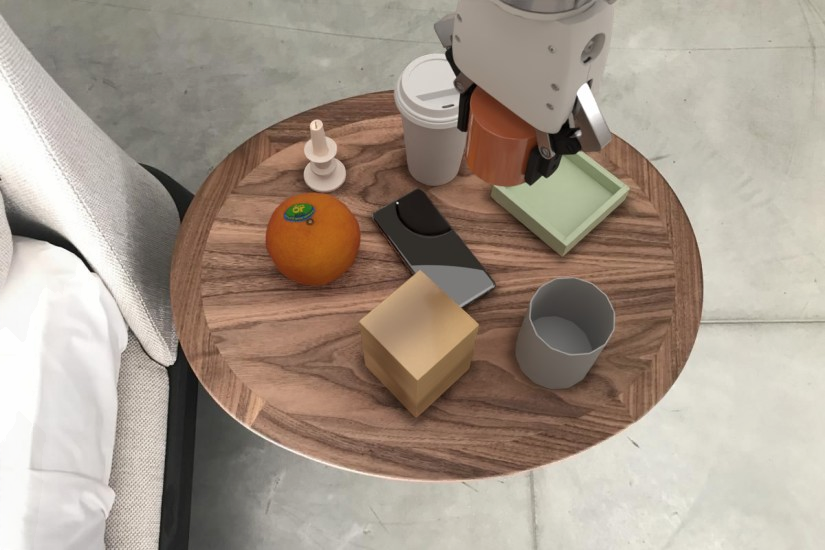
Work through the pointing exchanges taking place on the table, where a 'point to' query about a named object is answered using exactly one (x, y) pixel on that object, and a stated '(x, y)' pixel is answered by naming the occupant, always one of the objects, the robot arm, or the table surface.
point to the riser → (418, 342)
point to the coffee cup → (430, 119)
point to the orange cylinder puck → (497, 141)
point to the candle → (322, 161)
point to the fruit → (313, 238)
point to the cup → (564, 332)
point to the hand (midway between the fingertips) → (505, 145)
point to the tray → (564, 201)
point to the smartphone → (433, 247)
